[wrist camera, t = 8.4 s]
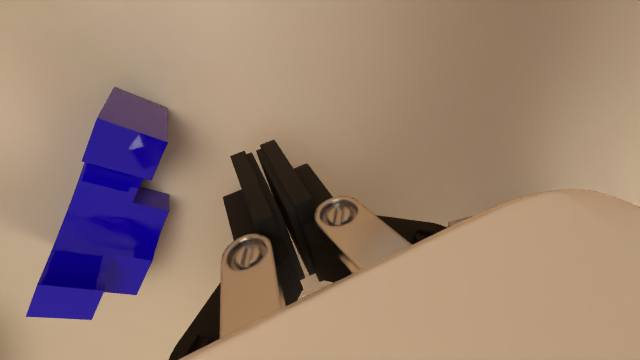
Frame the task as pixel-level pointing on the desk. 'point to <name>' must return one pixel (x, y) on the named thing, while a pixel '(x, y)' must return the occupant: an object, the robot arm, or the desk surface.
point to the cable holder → (108, 213)
